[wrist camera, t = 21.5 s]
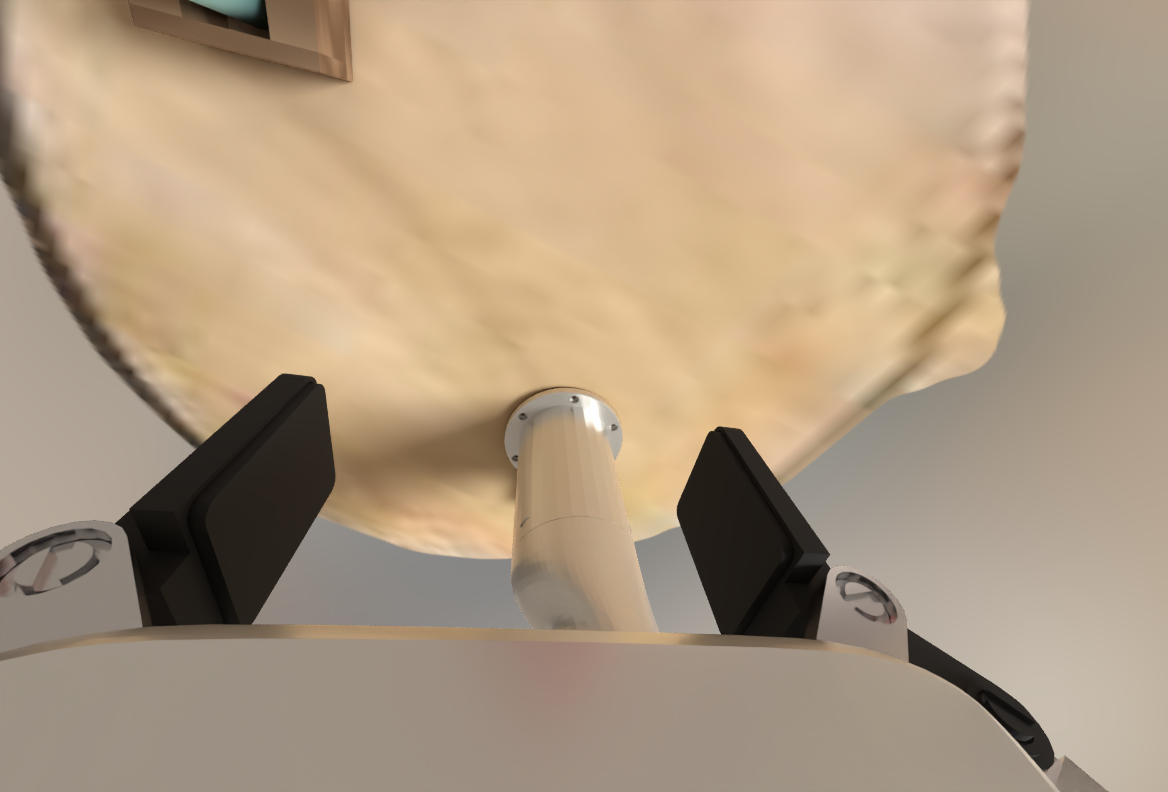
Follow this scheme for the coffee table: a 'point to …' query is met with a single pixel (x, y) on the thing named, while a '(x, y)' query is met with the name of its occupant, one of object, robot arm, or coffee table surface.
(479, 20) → the coffee table surface
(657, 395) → the coffee table surface
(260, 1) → the dowel
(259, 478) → the robot arm
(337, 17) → the block
